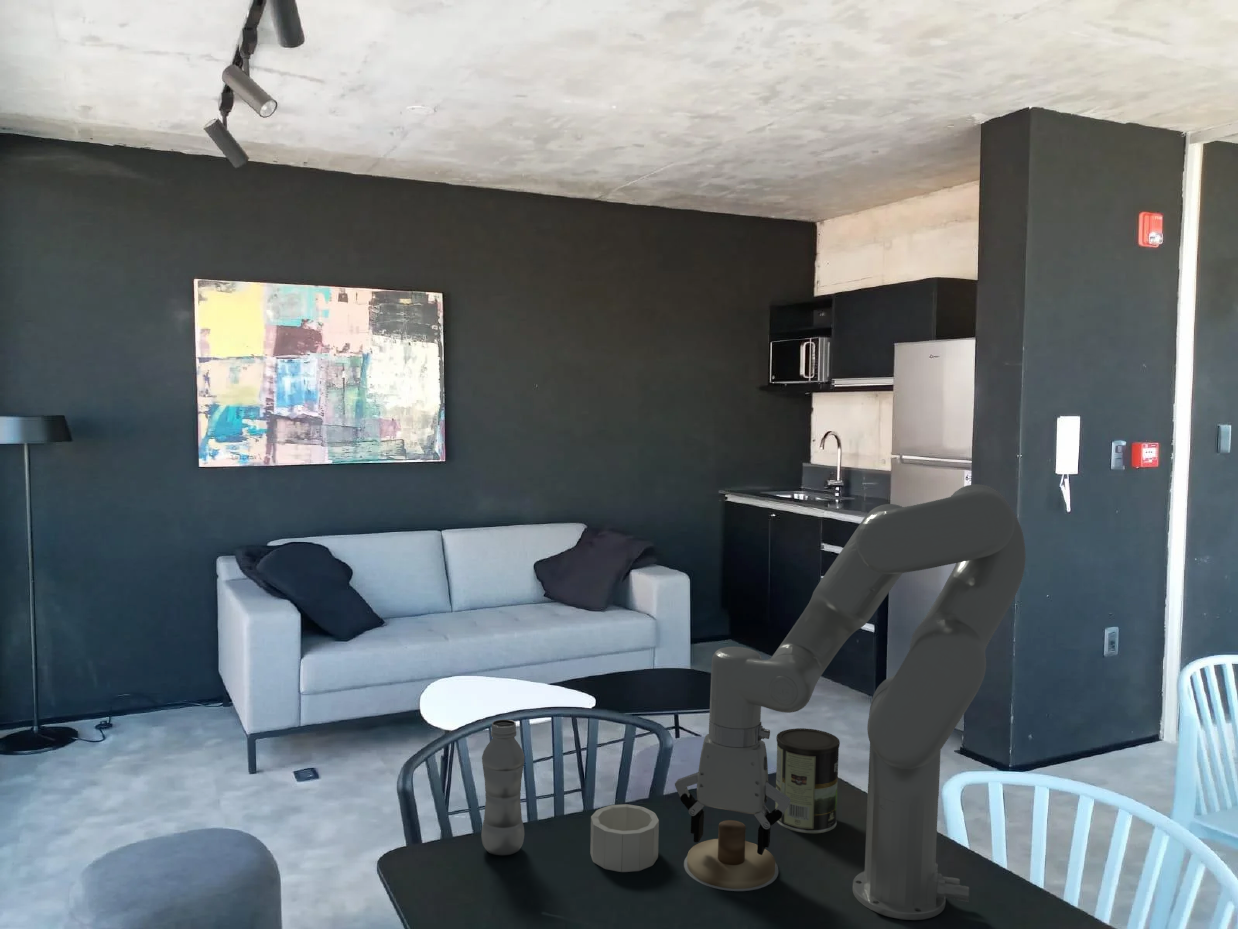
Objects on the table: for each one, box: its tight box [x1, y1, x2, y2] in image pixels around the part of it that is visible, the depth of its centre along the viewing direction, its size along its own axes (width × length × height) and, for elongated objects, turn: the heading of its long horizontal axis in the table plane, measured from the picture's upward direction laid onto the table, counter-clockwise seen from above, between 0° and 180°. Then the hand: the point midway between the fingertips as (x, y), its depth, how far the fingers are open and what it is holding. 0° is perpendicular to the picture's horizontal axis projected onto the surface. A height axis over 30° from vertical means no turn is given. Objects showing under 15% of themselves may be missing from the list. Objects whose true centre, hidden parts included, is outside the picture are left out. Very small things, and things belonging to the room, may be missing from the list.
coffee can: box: [774, 727, 841, 834], centre depth 159 cm, size 10×10×14 cm
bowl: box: [589, 803, 660, 873], centre depth 145 cm, size 10×10×6 cm
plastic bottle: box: [480, 718, 525, 856], centre depth 146 cm, size 6×7×20 cm
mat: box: [683, 856, 779, 892], centre depth 143 cm, size 14×14×1 cm
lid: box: [686, 819, 776, 889], centre depth 142 cm, size 13×13×6 cm
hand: (729, 844), depth 142 cm, fingers open, 9 cm apart
